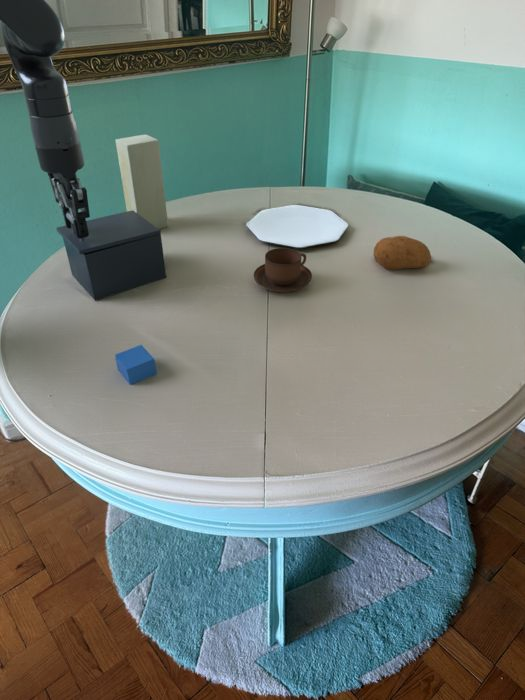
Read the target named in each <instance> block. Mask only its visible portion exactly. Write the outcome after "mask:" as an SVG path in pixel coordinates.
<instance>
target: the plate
mask: <svg viewBox="0 0 525 700" xmlns="http://www.w3.org/2000/svg"><path fill="white" fill-rule="evenodd" d="M246 227H247V228H248V230H249V231H250V232H251V233H252V235H254V236H255V238H256V239H257V240H258V241H260V242H261V243H265V244H271V245H277V246H282V247H286V248H291V249H306V248H312V247H317V246H323V245H328V244H333V243H337V242H339V241H340V239H341V237H342V236H343V235H344V233H345V232H346V231H347V229H348V228H349V224H348V222H347V221H345V220H343V219H342V218H341V217H340V216H338V215H337V214H336V213H335V212H333V211H332V210H330V209H326V208H318V207H312V206H305V205H301V204H291V205H285V206H278V207H272V208H265V209H262V210H260V211H259V212H258V213H256V214H255V215H254V216H253V217H252V218H251V219H250V220H249V221H247V222H246Z"/></svg>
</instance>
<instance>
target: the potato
mask: <svg viewBox="0 0 525 700" xmlns="http://www.w3.org/2000/svg"><path fill="white" fill-rule="evenodd" d="M373 256H374V258H375V261H376V263H377V264H379V266H381V267H382V268H383V269H385V270H388V271H395V270H403V269H422V268H425V267H427V266H429V264H430V263H431V261H432V255H431V251H430V249H429V247H428V246H427V245H426V244H425V243H423V241H420V240H418V239H414V238H412V237H408V236H405V235H396V236H387V237H384V238H381V239H379V241H377V243H376V244H375V246H374V247H373Z"/></svg>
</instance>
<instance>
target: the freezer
mask: <svg viewBox="0 0 525 700" xmlns="http://www.w3.org/2000/svg"><path fill="white" fill-rule="evenodd" d="M62 240H63V243H64V249H65V252H66V256H67V260H68V265H69V268H70V271H71V276H72V277H73V278H74V279H75V280H76V281H77V283H79V284H80V286H81V287H82V288H83V289H84V290H85V291H86V292H87V294H88V295H89V296H90V297H91V298H92V299H93V300H94V301H95V302H97V301H98V300H99V301H100V300H102V299H105V298H109V297H111V296H114V295H117V294H121V293H123V292H126V291H129V290H132V289H135V288H139V287H141V286H145V285H148V284H151V283H154V282H157V281H160V280H163V279H166V278H167V271H166V264H165V256H164V249H163V242H162V241H163V239H162V234H158V235H154V236H150V237H146V238H142V239H138V240H134V241H130V242H127V243H123V244H119V245H115V246H111V247H107V248H103V249H99V250H96V251H92V252H88V253H84V254H79V253H78V252H77V251H76V250H75V249H74V248H73V247H72V246H71V245H70V244H69V243H68V242H67V241H66V240H65V239H64V238H63V237H62Z"/></svg>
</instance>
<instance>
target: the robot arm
mask: <svg viewBox="0 0 525 700" xmlns="http://www.w3.org/2000/svg"><path fill="white" fill-rule="evenodd" d="M62 23H63V22H61V20H60V18H59V16H58V14H57V13H56V11H55V10H54V9H53V7H51V5H49V3H48V2H47V1H46V0H0V34H1V37H2V41H3V44H4V48H5V50H6V53H7V55H8V57H9V59H10V62H11V63H12V67H13V69H14V71H15V74H16V76H17V78H18V80H19V82H20V84H21V87H22V92H23V96H24V102H25V104H26V109H27V113H28V118H29V125H30V132H31V136H32V140H33V143H34V147H35V151H36V155H37V159H38V163H39V168H40V169H41V171H43V172H44V173H47V176H48V179H49V182H50V186H51V189H52V192H53V196H54V200H55V202H56V204H58V205H59V206H58V207H59V208H60V210H61V211H62V216H63V220H64V225H65V226H66V227H67V228H71V224H70V220H68V219H67V218H66V215H65V214H66V212H67V211H68V210H70V213H71V217H72V219H73V224H74V228H75V233H76V236H77V237H78V238H79V239H81V238H85V237H88V236H89V233H88V228H87V223H86V221H87V219H89V218H90V217H91V216H90V215H91V214H90V206H89V199H88V191H87V189H86V187H82V182H81V180H80V178H78V175H77V172H78V171H79V170H81V169H83V168H84V166H85V159H84V154H83V149H82V144H81V139H80V134H79V129H78V124H77V122H76V119H75V118H76V117H75V115H74V112H73V106H72V102H71V96H70V91H69V87H68V85H67V82H66V79H65V78H64V76H63V75H62V74H61V73H60V72H59V71H58V70H57V69H56V68H55V65H54V62H53V60H52V57H55V56H56V55H58V54H59V53H60V52H61V51H62V49H63V47H64V45H65V39H66V38H65V30H64V29H65V28H64V26H63V24H62ZM79 210H80V211H79Z"/></svg>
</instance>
